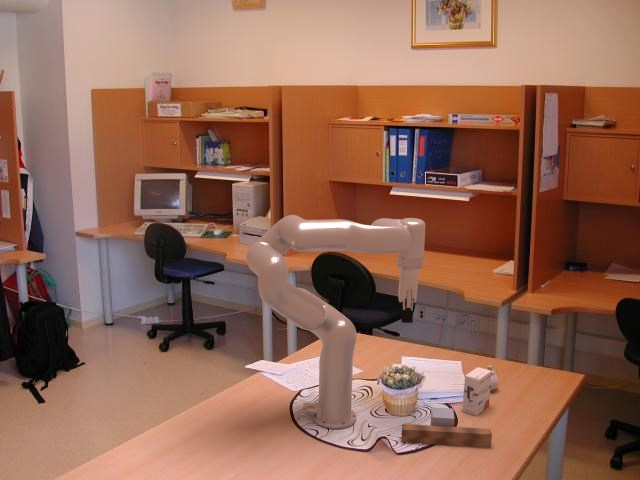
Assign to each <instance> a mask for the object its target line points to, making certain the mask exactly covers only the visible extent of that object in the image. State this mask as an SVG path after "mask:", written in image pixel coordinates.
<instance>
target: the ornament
mask: <svg viewBox="0 0 640 480" xmlns="http://www.w3.org/2000/svg"><path fill="white" fill-rule="evenodd" d="M486 367H487V368H486V369H487V370H490V371H492V374H491V386H490V392H491V391H493V390H495V389H496V388H497V387H498V386H499V378H498V376H497V373H498V371H497V368H496V369H493V368H494V367H496V365H495V363H493V364H492V365H490V364H488V365H487V366H486Z"/></svg>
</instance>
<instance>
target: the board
mask: <svg viewBox="0 0 640 480" xmlns="http://www.w3.org/2000/svg"><path fill="white" fill-rule="evenodd" d="M401 437H402V439H401V443H402V442H408V443H407V444H416V443H422V444H421V445H437V446H453V447H470V448H471V447H473V448H474V447H475V448H490V449H491V448H492V439H493V433H492V431H491V428H479V427H463V426H454V427H447V426H430V425H429V424H428V425H427V424H409V423H407V424H405V423H401Z"/></svg>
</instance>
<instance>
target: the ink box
mask: <svg viewBox="0 0 640 480" xmlns="http://www.w3.org/2000/svg"><path fill="white" fill-rule="evenodd" d="M487 369H488V368H482V367H476V368H474V369H473V370H472V371H469V372H468V373H467V374H465V375H464V384H463V385H464V387H463V397H462V399H463V400H462V410H461V411H462V412H463V413H466V414H470V415H472V416H475V417H477V416H478V415H479V414H480V413H482V412H483V411H484V410H486V409H487V408H488V407H489V406H490V396H491V391H490V386H491V374H492V371H490V370H487Z"/></svg>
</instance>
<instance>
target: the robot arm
mask: <svg viewBox="0 0 640 480" xmlns="http://www.w3.org/2000/svg"><path fill="white" fill-rule="evenodd" d="M425 238H426V222H425V221H424V220H422V219H420V218H417V217H416V218H415V217H405V218H402V219H401V218H400V219H399V218H398V219H397V218H396V219H395V218H389V217H387V218H385V217H384V218H383V217H382V218H378V219H376V220H374V221H373V222H372V223H371V225H368V224H362V223H359V222H356V221H352V220H348V219H341V218H340V219H339V218H337V219H335V218H334V219H304V218H302V217H300V216H299V215H297V214H289V215H286V216H283V217H282V218H281V219H279V220H278V221H277V222H276V223H274V225H272V226H271V227H270V228H269V229H268V230H266V231H265V233H263V234H262V235H261V236H260V237H259V238H258V239H257V240H256V241H255V242H254V243H253V244H252V245H251V246H250V247H249V249H248V250H247V253H246V256H245V261H246V264H247V267H248V268H249V269H250V270H251V271H252V272H253V273H254V274H255V275H256V276H257V278H258V279H257V290H258V294H259V297H260V299H261V300H262V302H263V303H264V305H266V306H267V307H269V308H270V309H271V310H273V311H275V312H276V313H278V314H279V315H280V316H282V317H283V318H285V319H287V320H288V321H290V322H291V323H293V325H295V326H296V327H298V328H300V329H301V330H305V331H310V332H311V333H312V334H314V335H315V336H316V337H317V338H318V339H319V340H320V341H321V342H322V346H321V351H320V355H319V361H318V363H319V364H318V365H319V366H318V368H319V369H318V371H319V372H318V399H317V402H316V401H315V402H313V403H312V402H303V403H302V409H303V410H305V411H306V412H305V413H312V420H313V421H314V423H316V424H317V425H318V426H320V427H322V428H326V429H335V430H339V429H345V428H348V427H351V426H352V425H354V424H355V423H356V422H357V414H356V412H355V411H354V410H353V409H352V395H353V393H352V392H353V364H354V352H355V347H356V343H357V336H358V335H357V330H356V326H355V325H354V323H353V322H352V321H351V320H350V319H349V318H348V317H346V316H345V315H344V314H343V313H342V312H340V311H338V310H337V309H336V308H335V307H334V306H332V305H331V304H329V303H327V302H326V301H324V300H322V299H321V298H320V297H318V296H317V295H315V294H314V293H312V292H310V291H309V290H307V289H305V288H302V287H297V286H295V285H294V284H292V283H291V282H289V278H288V277H289V276H288V275H289V274H288V273H289V268H288V262H287V260H286V257H285V256H284V255H285V254H286V253H287V252H288V251H289V250H290V249H292V250H293V251H296V252H302V253H306V252H309V253H313V252H314V253H315V252H329V251H330V252H332V251H336V252H337V251H338V252H339V251H344V252H350V253H351V252H352V253H365V254H377V255H378V254H379V255H380V254H396V253H397V255H396V267H397V268H399V274H398V275H399V277H398V292H397V293H398V296H397V297H398V302H399V303H402V307H401V323H405V324H412V323H413V322H414V321H413V320H414V308H413V307H414V303H417V298H418V297H417V296H418V287H419V271H420V270H421V269H423V268H424V259H425V257H424V256H425V242H426V241H425Z"/></svg>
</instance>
